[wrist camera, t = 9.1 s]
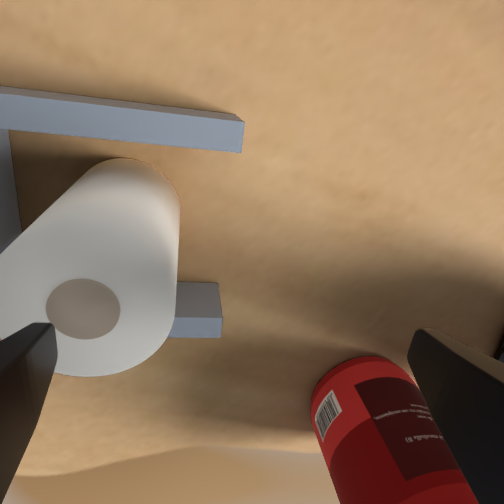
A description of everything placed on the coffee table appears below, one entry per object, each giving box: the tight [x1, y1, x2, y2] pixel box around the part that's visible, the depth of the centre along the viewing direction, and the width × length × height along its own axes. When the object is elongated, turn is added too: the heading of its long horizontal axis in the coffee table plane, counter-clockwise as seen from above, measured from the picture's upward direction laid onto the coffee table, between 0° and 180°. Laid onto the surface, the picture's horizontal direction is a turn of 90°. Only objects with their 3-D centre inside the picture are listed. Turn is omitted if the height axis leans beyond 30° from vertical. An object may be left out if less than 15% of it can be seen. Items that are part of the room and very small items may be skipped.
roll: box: [0, 158, 180, 377], centre depth 15 cm, size 5×5×9 cm
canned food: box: [311, 356, 479, 504], centre depth 22 cm, size 8×8×11 cm
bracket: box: [0, 86, 245, 338], centre depth 17 cm, size 12×10×4 cm
